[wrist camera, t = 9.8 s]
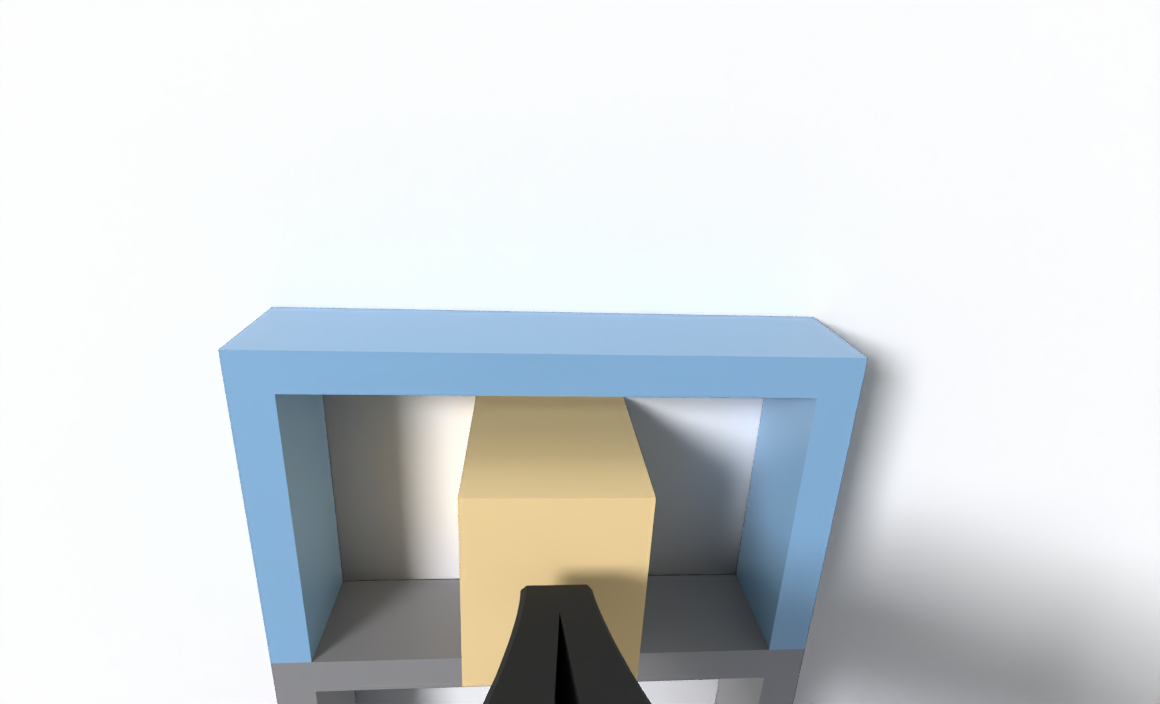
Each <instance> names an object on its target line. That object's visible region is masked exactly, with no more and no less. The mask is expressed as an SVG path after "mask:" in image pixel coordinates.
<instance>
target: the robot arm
mask: <svg viewBox="0 0 1160 704" xmlns="http://www.w3.org/2000/svg"><path fill="white" fill-rule="evenodd" d="M483 704H651V702H650V701H649V699H648V698H647V696H646V695H645V693H644V692H643V690H642V689H641V687H640V685H639V684H638V682H637V680H636V679H635V677H634V675H633V674H632V672H631V670H630V669H629V667H628V665H627V663H626V661H625V660H624V658H623V656H622V654H621V653H620V651H619V649H618V647H617V645H616V643H615V641H614V639H613V638H612V636H611V633H610V631H609V629H608V627H607V625H606V623H605V621H604V619H603V617H602V614H601V612H600V610H599V607H598V605H597V602H596V600H595V597H594V594H593V591H592V589H591V588H590V587H589V586H588V585H587V584H582V585H529V586H525V587H524V588H523V589H522V590H521V591H520V601H519V607H518V611H517V616H516V619H515V623H514V626H513V630H512V633H511V636H510V639H509V642H508V645H507V648H506V650H505V653H504V656H503V658H502V661H501V664H500V666H499V669H498V671H497V674H496V676H495V679H494V681H493V683H492V685H491V687H490V690H489V692H488V694H487V696H486V699H485V701H484V703H483Z"/></svg>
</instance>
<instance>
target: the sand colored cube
mask: <svg viewBox="0 0 1160 704" xmlns="http://www.w3.org/2000/svg"><path fill="white" fill-rule="evenodd" d="M655 503H656V497H655V494H654V490H653V487H652V484H651V481H650V478H649V475H648V472H647V469H646V466H645V463H644V460H643V456H642V453H641V450H640V447H639V444H638V441H637V438H636V435H635V432H634V429H633V426H632V422H631V419H630V416H629V413H628V410H627V407H626V404H625V401H624V398H623V397H594V396H476V400H475V405H474V411H473V416H472V422H471V428H470V433H469V439H468V445H467V450H466V456H465V461H464V467H463V473H462V478H461V484H460V489H459V495H458V525H459V568H460V611H461V654H462V687H469V686H491V685H492V683H493V681H494V679H495V676H496V674H497V671H498V669H499V666H500V664H501V661H502V658H503V656H504V653H505V650H506V648H507V645H508V642H509V639H510V636H511V633H512V630H513V626H514V623H515V619H516V616H517V611H518V607H519V601H520V591H521V590H522V589H523V588H524V587H525V586H529V585H582V584H587V585H588V586H589V587H590V588H591V589H592V591H593V594H594V597H595V600H596V602H597V605H598V607H599V610H600V612H601V614H602V617H603V619H604V621H605V623H606V625H607V627H608V629H609V631H610V633H611V636H612V638H613V639H614V641H615V643H616V645H617V647H618V649H619V651H620V653H621V654H622V656H623V658H624V660H625V661H626V663H627V665H628V667H629V669H630V670H631V672H632V674H633V675H634V677H635V679H636V680H637V675H638V665H639V656H640V646H641V636H642V627H643V617H644V608H645V598H646V589H647V579H648V570H649V560H650V551H651V541H652V531H653V522H654V512H655Z"/></svg>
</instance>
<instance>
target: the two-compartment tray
mask: <svg viewBox="0 0 1160 704" xmlns="http://www.w3.org/2000/svg"><path fill="white" fill-rule="evenodd" d="M218 351H219V357H220V363H221V369H222V375H223V381H224V387H225V393H226V399H227V405H228V411H229V417H230V422H231V428H232V434H233V440H234V446H235V452H236V458H237V464H238V470H239V476H240V482H241V488H242V494H243V500H244V506H245V512H246V518H247V524H248V530H249V536H250V542H251V548H252V554H253V560H254V566H255V572H256V578H257V584H258V590H259V596H260V602H261V608H262V614H263V620H264V626H265V632H266V637H267V643H268V649H269V655H270V661H271V667H272V673H273V679H274V685H275V691H276V697H277V703H278V704H356V697H355V690H383V689H415V688H446V687H462V654H461V611H460V579H441V580H382V581H343V577H342V568H341V559H340V550H339V540H338V531H337V522H336V513H335V504H334V494H333V485H332V476H331V467H330V458H329V448H328V439H327V430H326V421H325V412H324V402H323V395H453V396H594V397H735V398H764V400H763V406H762V413H761V419H760V425H759V431H758V438H757V444H756V450H755V457H754V463H753V469H752V476H751V482H750V488H749V494H748V501H747V507H746V513H745V520H744V526H743V532H742V538H741V545H740V551H739V557H738V564H737V570H736V574H734V575H675V576H648V579H647V589H646V598H645V608H644V617H643V627H642V636H641V646H640V656H639V665H638V675H637V682H638V681H670V680H702V679H719V683H718V690H717V696H716V702H715V704H793V701H794V696H795V692H796V687H797V682H798V678H799V673H800V668H801V664H802V659H803V655H804V650H805V645H806V641H807V636H808V632H809V627H810V622H811V618H812V613H813V608H814V604H815V599H816V595H817V590H818V585H819V581H820V576H821V572H822V567H823V562H824V558H825V553H826V548H827V544H828V539H829V535H830V530H831V525H832V521H833V516H834V512H835V507H836V502H837V498H838V493H839V488H840V484H841V479H842V475H843V470H844V465H845V461H846V456H847V452H848V447H849V442H850V438H851V433H852V428H853V424H854V419H855V415H856V410H857V405H858V401H859V396H860V392H861V387H862V382H863V378H864V373H865V368H866V364H867V359H868V358H867V357H866V356H864V355H863V354H862V353H860V352H859V351H858V350H856V349H855V348H854V347H852V346H851V345H850V344H848V343H847V342H846V341H844V340H843V339H842V338H840V337H839V336H838V335H836V334H835V333H834V332H832V331H831V330H830V329H828V328H827V327H826V326H824V325H823V324H822V323H820V322H819V321H818V320H816V319H815V318H814V317H783V316H728V315H673V314H619V313H564V312H509V311H455V310H400V309H345V308H291V307H271V308H270V309H269V310H268V311H266V312H265V313H264V314H263V315H261V316H260V317H259V318H258V319H256V320H255V321H254V322H253V323H251V324H250V325H249V326H248V327H246V328H245V329H244V330H243V331H241V332H240V333H239V334H238V335H236V336H235V337H234V338H233V339H231V340H230V341H229V342H227V343H226V344H225V345H224V346H222V347H221V348H220V349H219V350H218ZM469 687H478V686H469Z"/></svg>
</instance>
